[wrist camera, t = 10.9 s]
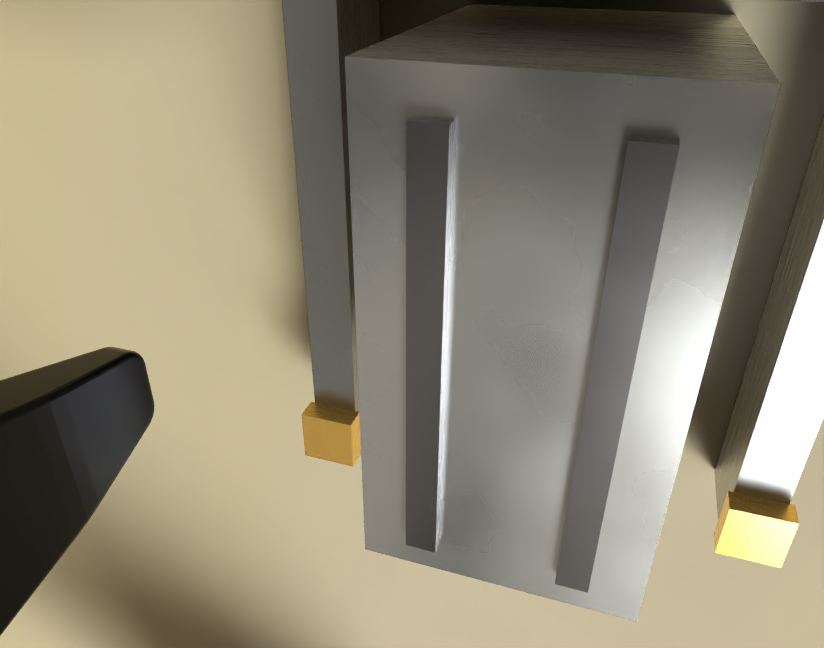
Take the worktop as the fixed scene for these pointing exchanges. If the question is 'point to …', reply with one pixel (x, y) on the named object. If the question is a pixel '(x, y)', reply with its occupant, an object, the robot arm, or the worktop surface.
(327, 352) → the dock
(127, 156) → the worktop surface
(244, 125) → the worktop surface
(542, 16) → the block
